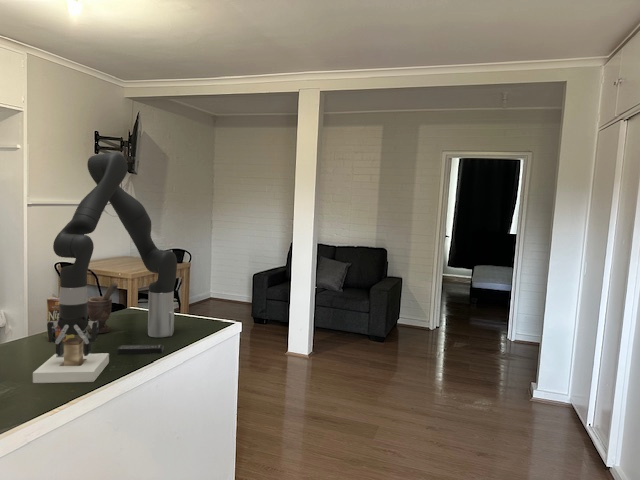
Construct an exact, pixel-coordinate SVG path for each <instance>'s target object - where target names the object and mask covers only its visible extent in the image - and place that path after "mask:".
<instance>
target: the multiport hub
mask: <svg viewBox="0 0 640 480" xmlns="http://www.w3.org/2000/svg"><path fill="white" fill-rule="evenodd" d="M116 352H117V355H119V356H122V355H124V356H125V355H153V354H152V353H162V354H163V352H164V344H121V345H119V346H118V347H117V350H116ZM150 353H151V354H150Z"/></svg>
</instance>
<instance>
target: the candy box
mask: <svg viewBox="0 0 640 480" xmlns="http://www.w3.org/2000/svg"><path fill="white" fill-rule="evenodd" d="M46 315H47V316H46V320H47V322H46V324H47V323H49V322H50V321H52V320H53V321H59V296H54V297H48V298H47V299H46ZM61 331H62V330H61V328H60V327H59V326H58V325H57V327H56V328H55V332H56V337H57V338H58V336H59V334H60V332H61ZM68 338H75V335H73V334H72V335H67V334H66V336H65V337H64V339H63V340H62V342H63V343H64V341H66V340H67V339H68Z"/></svg>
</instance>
